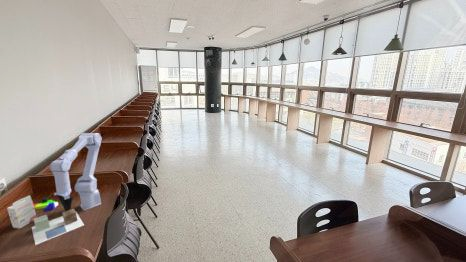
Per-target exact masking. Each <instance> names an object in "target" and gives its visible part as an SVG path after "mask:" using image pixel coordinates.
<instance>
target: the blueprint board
mask: <svg viewBox="0 0 466 262" xmlns="http://www.w3.org/2000/svg"><path fill="white" fill-rule="evenodd" d="M75 212H76V216H77V220H78V221H75V222H73V223H70V224H68V225H66V224H65V222H64V218H63V215H62V216H59V217H56V218H54V219H51V220H48V221H49V225H50V227H49V228H47V229H44V230H41V231H39V232H37V230H36V226H35V225H34V226H32V227H31V232H32V235H33V240H34V244H35V246H37V245H39V244H41V243H44V242H46V241H50V240H51V239H53V238H56V237H59V236H61V235H64V234H66V233H69V232H72V231H74V230H76V229H78V228H81V227H83V226H85V224H84V222H83V221H82V219H81V218H80V215H79V214H78V212H77V211H76V210H75Z"/></svg>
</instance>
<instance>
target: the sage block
mask: <svg viewBox="0 0 466 262" xmlns="http://www.w3.org/2000/svg"><path fill="white" fill-rule="evenodd" d="M49 221H50V220H49V217H48V215H47V214H44V215H41V216H37V218H35V219H34V221H33V222H34V226H36V230H37V232H39V231H41V230H44V229H47V228H49V227H50V225H49Z"/></svg>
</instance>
